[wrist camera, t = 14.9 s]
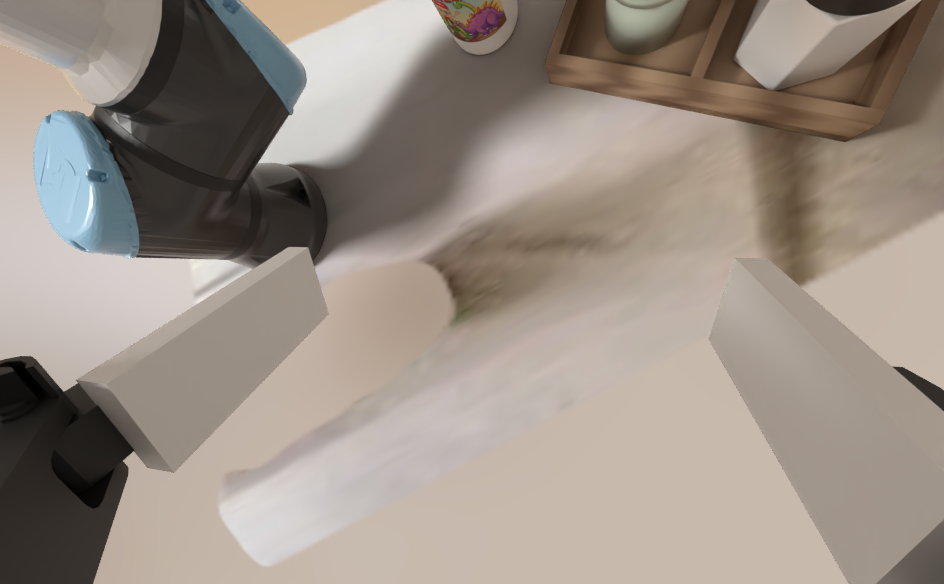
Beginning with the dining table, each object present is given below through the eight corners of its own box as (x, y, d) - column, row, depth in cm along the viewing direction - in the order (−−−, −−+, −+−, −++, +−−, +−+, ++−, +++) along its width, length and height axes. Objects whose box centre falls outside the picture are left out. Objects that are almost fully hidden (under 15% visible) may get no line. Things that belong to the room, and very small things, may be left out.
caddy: (549, 82, 39) (545, 62, 35) (598, -57, 37) (599, -95, 33) (845, 142, 32) (879, 123, 28) (927, -31, 29) (977, -76, 26)
